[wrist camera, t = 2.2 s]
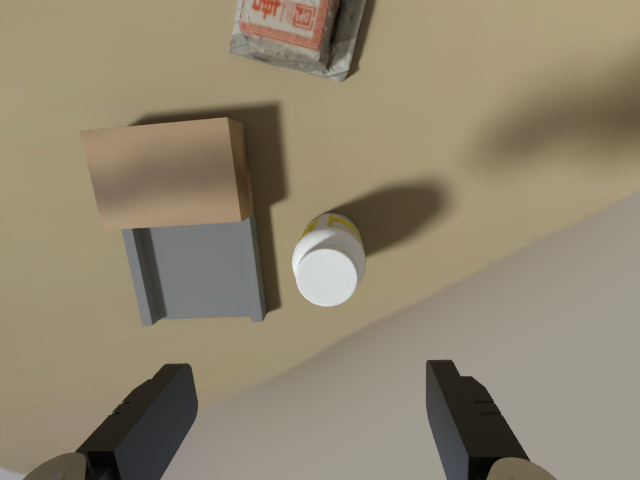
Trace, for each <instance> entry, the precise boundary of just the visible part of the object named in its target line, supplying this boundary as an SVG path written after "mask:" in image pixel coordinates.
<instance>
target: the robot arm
mask: <svg viewBox="0 0 640 480" xmlns="http://www.w3.org/2000/svg"><path fill="white" fill-rule="evenodd" d="M426 407H427V414H428V419H429V423H430V427H431V430H432V433H433V436H434V439H435V443H436V446H437V449H438V452H439V455H440V458H441V462H442V465H443V468H444V471H445V474H446V477H447V480H556V479H555V478H554V477H553V476H552V475H551V474H550V473H549V472H547V471H546V470H545V469H543V468H542V467H540V466H538V465H536V464H535V463H532V462H531V461H530V459H529V458H528V456H527V455H526V453H525V451H524V450H523V448H522V446H521V445H520V443H519V442H518V440H517V438H516V437H515V435H514V433H513V432H512V430H511V428H510V427H509V425H508V424H507V422H506V420H505V419H504V417H503V416H501V412H500V411H499V409H498V407H497V406H496V404H494V401H493V399H492V398H491V396H490V394H489V393H488V391H487V389H486V388H485V387H484V386H483V385H482V384H480V383H479V382H478V381H476V380H475V379H474V378H473V377H471V376H467V377H465V376H460V374H459V372H458V371H457V369H456V367H455V365H454V363H453V362H452V360H427V363H426ZM197 410H198V401H197V395H196V390H195V384H194V379H193V373H192V369H191V366H190V365H189V364H165V365H164V366H163V367H162V368H161V369H160V370H159V371H158V372H157V373H156V374H155V376H154V377H153V378H152V379H149V380H147V381H146V382H144V383H143V384H141V385H140V386H138V387H137V388H135V389H134V390H133V391H132V392H131V393H130V394H129V395H128V396H127V397H126V398H125V399H124V400H123V401H122V404H119V406H118V407H117V408H116V409H115V410H114V411H113V412H112V415H109V416H108V417H107V418H106V419H105V420H104V422H103V423H102V424H101V425H100V426H99V427H98V428H97V429H96V430H95V431H94V432H93V433H92V434H91V435H90V436H89V438H88V439H87V440H86V441H85V442H84V443H83V444H82V445H81V446H80V447H79V448H78V449H77V450H76V451H75V452H74V453H66V454H63V455H60V456H57V457H54V458H52V459H50V460H48V461H46V462H45V463H43V464H41V465H40V466H38V467H37V468H35V469H34V470H33V471H31V472H30V473H29V474H28V475H27V476H26V477H25V478H24V479H23V480H160V479H161V477H162V475H163V474H164V472H165V470H166V469H167V467H168V465H169V464H170V462H171V460H172V458H173V457H174V455H175V453H176V452H177V450H178V448H179V447H180V445H181V443H182V442H183V440H184V438H185V436H186V435H187V433H188V431H189V430H190V428H191V426H192V424H193V423H194V421H195V418H196V415H197Z"/></svg>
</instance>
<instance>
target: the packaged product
mask: <svg viewBox="0 0 640 480" xmlns="http://www.w3.org/2000/svg"><path fill="white" fill-rule="evenodd" d="M366 3H367V0H238V4H237V9H236V15H235V21H234V28H233V33H232V38H231V45H230V53H232V54H236V55H239V56H242V57H246V58H249V59H253V60H256V61H260V62H263V63H266V64H270V65H274V66H279V67H284V68H289V69H294V70H298V71H302V72H305V73H308V74H312V75H315V76H319V77H322V78H326V79H330V80H333V81H337V82H343V81H344V80H345V78H346V76H347V74H348V71H349V68H350V65H351V62H352V57H353V53H354V48H355V43H356V39H357V34H358V31H359V27H360V24H361V20H362V17H363V13H364V10H365V6H366Z"/></svg>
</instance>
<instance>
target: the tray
mask: <svg viewBox="0 0 640 480" xmlns="http://www.w3.org/2000/svg"><path fill="white" fill-rule="evenodd" d="M122 233H123V238H124V242H125V247H126V252H127V256H128V261H129V265H130V270H131V274H132V279H133V283H134V288H135V292H136V297H137V301H138V306H139V310H140V315H141V320H142V324H143V326H144V325H153V324H155V323H156V322H157V321H158V320H159V319H187V318H216V317H246V316H251V317H252V322H263V320H264V318H265V316H266V314H267V309H266V300H265V292H264V284H263V276H262V268H261V260H260V252H259V244H258V236H257V227H256V219H255V214H254V215H252V216H251V217H249V218H247V219H245V220H244V221H242V222H230V223H214V224H198V225H182V226H166V227H150V228H134V229H122Z"/></svg>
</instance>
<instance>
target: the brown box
mask: <svg viewBox="0 0 640 480" xmlns="http://www.w3.org/2000/svg"><path fill="white" fill-rule="evenodd" d="M80 134H81V138H82V142H83V146H84V151H85V155H86V159H87V163H88V168H89V172H90V176H91V181H92V185H93V189H94V193H95V198H96V202H97V206H98V210H99V215H100V219H101V223H102V228H103V230H118V229H134V228H150V227H166V226H182V225H198V224H214V223H230V222H242V221H244V220H245V219H247V218H249V217H251V216H252V215H254V214H255V211H254V203H253V195H252V187H251V179H250V171H249V162H248V154H247V146H246V138H245V130H244V123H242V122H239V121H236V120H234V119H231V118H228V117H224V118H213V119H203V120H192V121H181V122H171V123H160V124H150V125H139V126H128V127H118V128H107V129H97V130H86V131H80Z"/></svg>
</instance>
